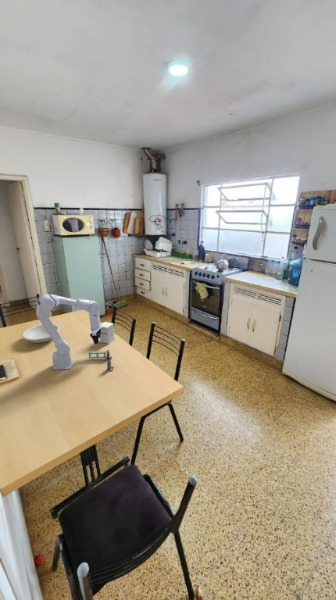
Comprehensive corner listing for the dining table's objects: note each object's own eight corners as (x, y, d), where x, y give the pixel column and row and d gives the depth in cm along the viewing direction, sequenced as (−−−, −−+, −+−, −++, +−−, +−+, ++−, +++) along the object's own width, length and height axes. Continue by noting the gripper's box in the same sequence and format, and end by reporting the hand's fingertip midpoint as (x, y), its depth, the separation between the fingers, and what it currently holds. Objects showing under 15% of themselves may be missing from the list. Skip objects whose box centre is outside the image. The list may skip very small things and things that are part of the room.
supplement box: (99, 342, 171) (98, 325, 167) (106, 337, 178) (104, 321, 174) (109, 344, 169) (107, 327, 164) (115, 339, 175) (113, 323, 171)
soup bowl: (68, 336, 180) (67, 328, 177) (36, 352, 161) (34, 343, 158) (48, 328, 192) (46, 320, 189) (16, 342, 173) (14, 333, 170)
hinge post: (105, 360, 151) (104, 352, 149) (106, 357, 154) (105, 349, 153) (111, 360, 151) (110, 352, 149) (112, 357, 155) (111, 349, 153)
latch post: (106, 371, 141) (105, 362, 139) (108, 367, 145) (107, 359, 143) (112, 370, 141) (111, 362, 139) (113, 367, 145) (112, 358, 143)
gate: (106, 357, 153) (105, 351, 152) (105, 358, 152) (105, 352, 151) (89, 357, 153) (89, 351, 151) (89, 358, 152) (88, 352, 150)
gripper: (100, 325, 143) (102, 346, 148) (103, 315, 156) (105, 334, 161) (87, 326, 142) (90, 346, 147) (91, 315, 156) (94, 335, 160)
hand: (97, 340), depth 154 cm, fingers open, 7 cm apart
